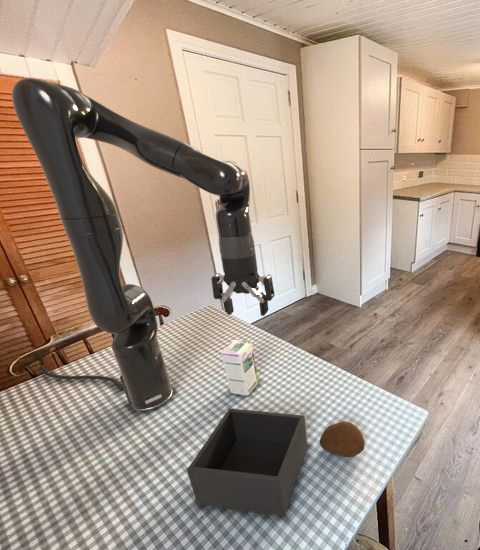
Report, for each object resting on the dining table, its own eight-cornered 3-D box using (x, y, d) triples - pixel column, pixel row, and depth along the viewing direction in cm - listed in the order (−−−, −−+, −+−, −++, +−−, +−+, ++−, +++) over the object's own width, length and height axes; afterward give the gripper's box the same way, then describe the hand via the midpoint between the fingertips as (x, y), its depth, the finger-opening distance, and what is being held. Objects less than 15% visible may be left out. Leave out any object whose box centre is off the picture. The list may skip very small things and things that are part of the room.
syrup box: (248, 396, 85) (240, 353, 80) (229, 393, 86) (220, 350, 81) (259, 382, 90) (252, 341, 85) (241, 379, 91) (233, 338, 86)
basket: (197, 505, 58) (186, 470, 55) (235, 439, 72) (229, 408, 68) (285, 516, 57) (279, 481, 53) (307, 447, 70) (304, 415, 67)
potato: (324, 432, 74) (323, 411, 71) (366, 437, 73) (367, 415, 70) (316, 459, 67) (315, 436, 65) (363, 465, 66) (363, 442, 64)
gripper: (273, 248, 74) (279, 307, 80) (216, 247, 74) (226, 306, 80) (262, 258, 67) (270, 322, 73) (199, 256, 67) (211, 320, 73)
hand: (247, 313), depth 76 cm, fingers open, 8 cm apart
